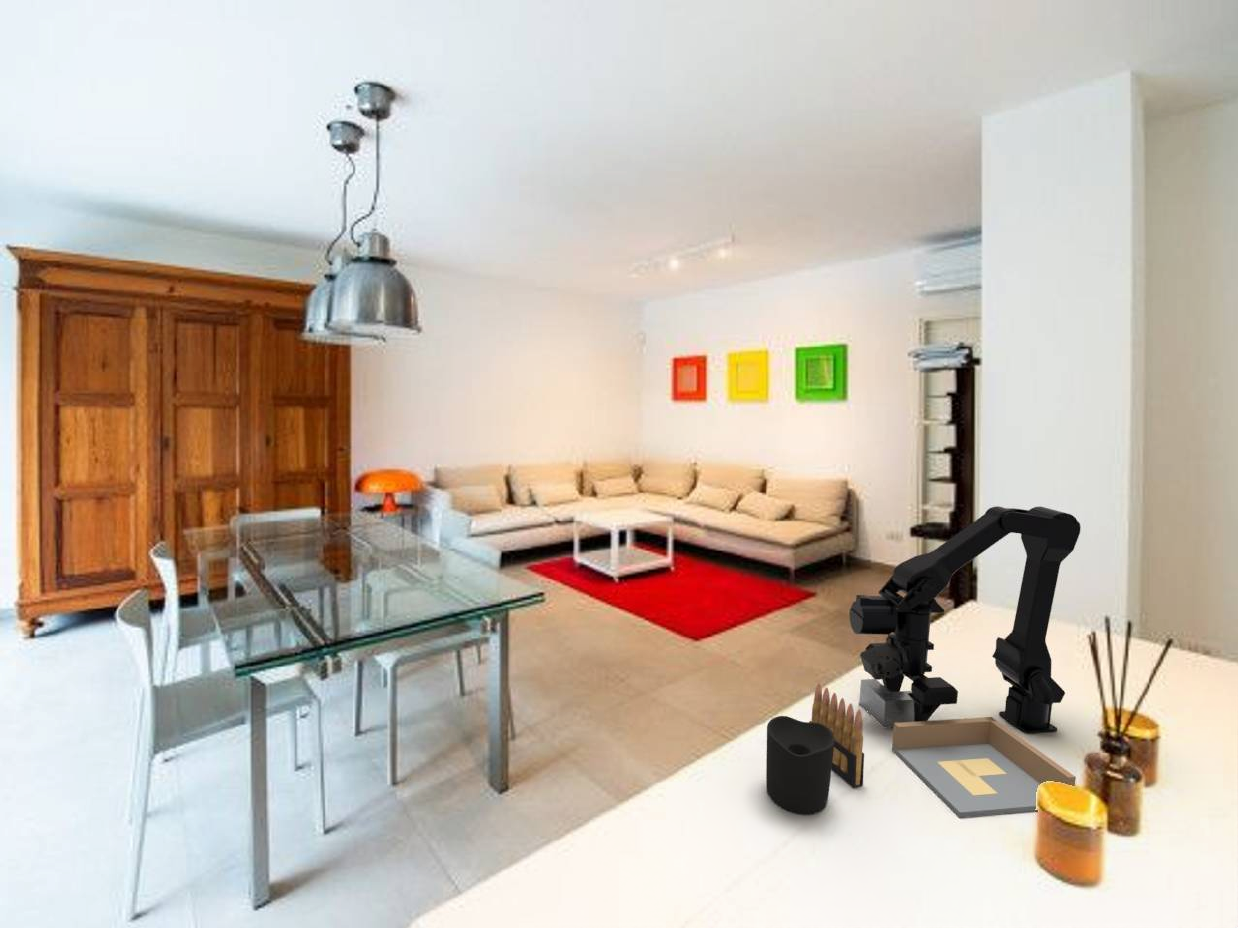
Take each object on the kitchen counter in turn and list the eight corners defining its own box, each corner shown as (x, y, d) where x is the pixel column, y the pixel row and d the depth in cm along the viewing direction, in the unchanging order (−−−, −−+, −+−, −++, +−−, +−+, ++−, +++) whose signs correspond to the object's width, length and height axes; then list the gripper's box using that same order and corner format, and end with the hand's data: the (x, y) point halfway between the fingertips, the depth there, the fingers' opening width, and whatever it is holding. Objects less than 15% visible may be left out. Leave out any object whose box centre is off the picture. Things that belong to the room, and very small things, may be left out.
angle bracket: (892, 702, 114) (894, 677, 114) (919, 725, 107) (921, 699, 106) (859, 704, 113) (860, 679, 113) (883, 727, 106) (885, 701, 105)
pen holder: (795, 826, 81) (799, 758, 80) (750, 785, 89) (753, 723, 88) (844, 805, 85) (849, 740, 84) (797, 768, 93) (800, 709, 92)
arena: (988, 743, 101) (991, 716, 101) (1072, 807, 86) (1075, 776, 85) (891, 749, 99) (894, 722, 98) (959, 817, 83) (962, 785, 83)
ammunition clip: (863, 785, 90) (869, 711, 88) (853, 788, 89) (859, 713, 88) (815, 746, 99) (819, 678, 98) (806, 748, 99) (810, 680, 97)
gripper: (842, 615, 114) (837, 692, 116) (901, 658, 95) (894, 749, 97) (895, 614, 115) (889, 689, 117) (963, 656, 97) (955, 744, 99)
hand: (904, 715), depth 108 cm, fingers open, 8 cm apart
